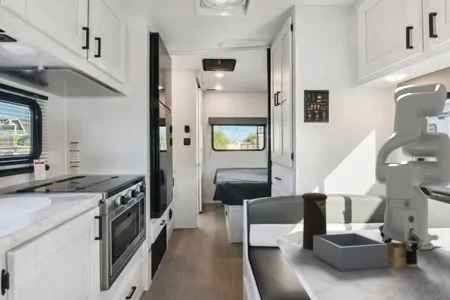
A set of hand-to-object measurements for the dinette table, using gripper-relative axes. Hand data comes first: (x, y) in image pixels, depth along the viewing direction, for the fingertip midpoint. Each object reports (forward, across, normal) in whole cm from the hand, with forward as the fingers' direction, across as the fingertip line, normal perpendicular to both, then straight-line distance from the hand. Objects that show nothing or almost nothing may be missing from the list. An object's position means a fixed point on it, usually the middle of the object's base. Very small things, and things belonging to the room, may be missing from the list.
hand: (399, 259), depth 109 cm
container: (+2, +24, +16) cm, 29 cm away
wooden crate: (+2, 0, 0) cm, 2 cm away
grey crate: (+2, +6, +14) cm, 15 cm away
